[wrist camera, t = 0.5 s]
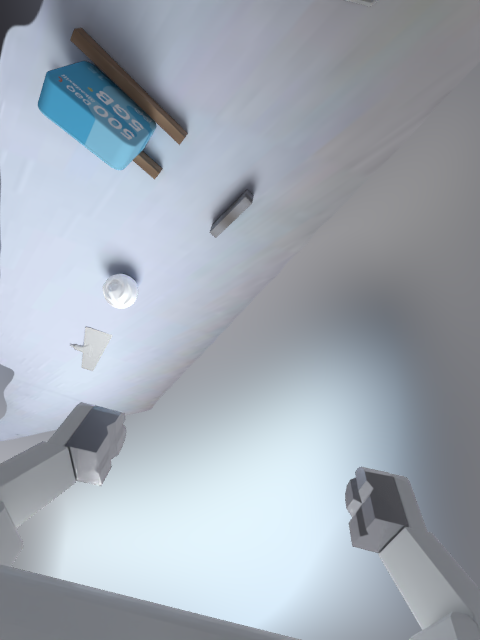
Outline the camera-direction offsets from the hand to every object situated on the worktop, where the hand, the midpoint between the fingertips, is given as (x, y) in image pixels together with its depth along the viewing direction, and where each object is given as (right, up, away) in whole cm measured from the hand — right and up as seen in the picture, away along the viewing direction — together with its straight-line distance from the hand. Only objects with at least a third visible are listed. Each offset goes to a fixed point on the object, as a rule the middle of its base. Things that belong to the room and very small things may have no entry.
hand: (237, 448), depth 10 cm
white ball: (-27, +14, +64) cm, 71 cm away
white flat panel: (-43, -7, +89) cm, 99 cm away
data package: (-19, +38, +37) cm, 56 cm away
